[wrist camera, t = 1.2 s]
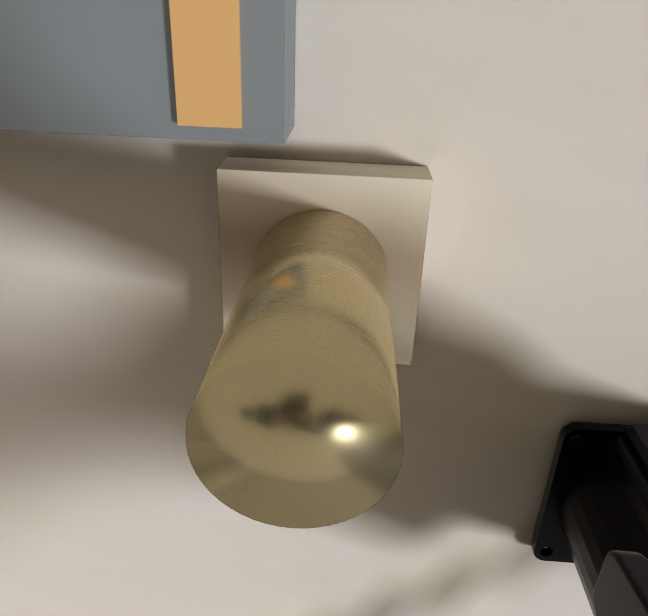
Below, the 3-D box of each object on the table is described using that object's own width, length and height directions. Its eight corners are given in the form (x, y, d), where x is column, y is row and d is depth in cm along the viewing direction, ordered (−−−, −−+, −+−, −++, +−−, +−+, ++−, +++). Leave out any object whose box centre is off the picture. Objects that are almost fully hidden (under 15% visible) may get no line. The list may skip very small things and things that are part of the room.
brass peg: (382, 335, 19) (393, 534, 12) (255, 328, 19) (192, 520, 12) (393, 212, 17) (413, 362, 10) (252, 205, 18) (178, 348, 10)
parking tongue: (407, 341, 21) (411, 365, 20) (233, 331, 21) (224, 353, 20) (427, 166, 18) (432, 180, 17) (227, 156, 19) (216, 169, 17)
